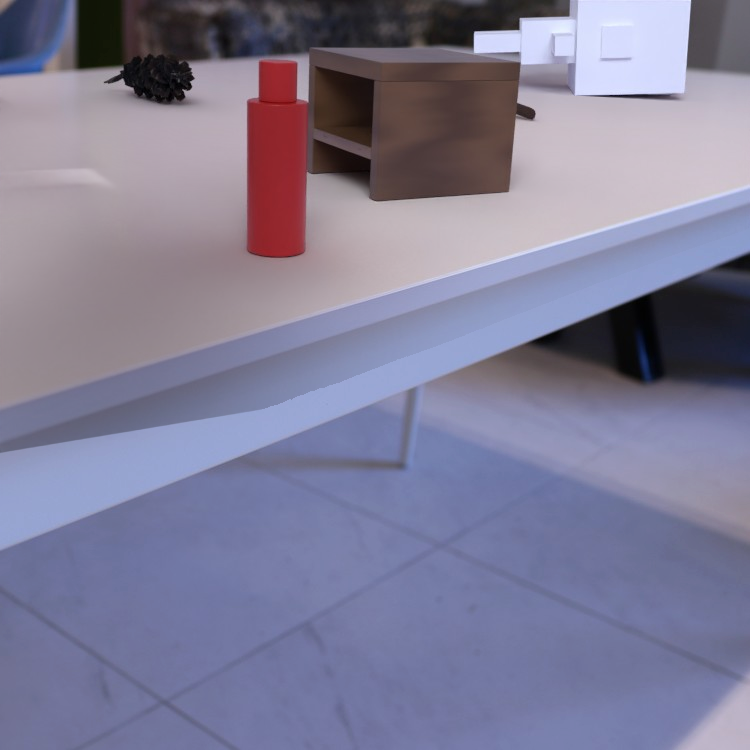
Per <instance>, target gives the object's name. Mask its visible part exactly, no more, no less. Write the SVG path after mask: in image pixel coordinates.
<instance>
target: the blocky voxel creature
mask: <svg viewBox="0 0 750 750" xmlns="http://www.w3.org/2000/svg"><path fill="white" fill-rule="evenodd" d="M691 6H692V0H569V16H546V17H545V16H544V17H541V16H540V17H520V18H519V29H515V30H514V29H513V30H511V29H509V30H480V31H479V30H478V31H477V30H476V31H473V32H474V33H473V54H491V53H492V54H494V53H496V54H497V53H518V60H519V62H520V63H521V66H522V65H556V64H558V65H559V64H567V80H566V81H567V83H566V84H567V86H568V88H569V89H570V91H571V92H572V93H573V95H574V96H576V97H577V96H610V95H613V96H615V95H617V96H619V95H620V96H621V95H646V96H668V95H669V96H670V95H672V94H685V91H686V76H687V64H688V51H689V48H688V47H689V36H690V35H689V34H690V21H691V8H692V7H691Z"/></svg>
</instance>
